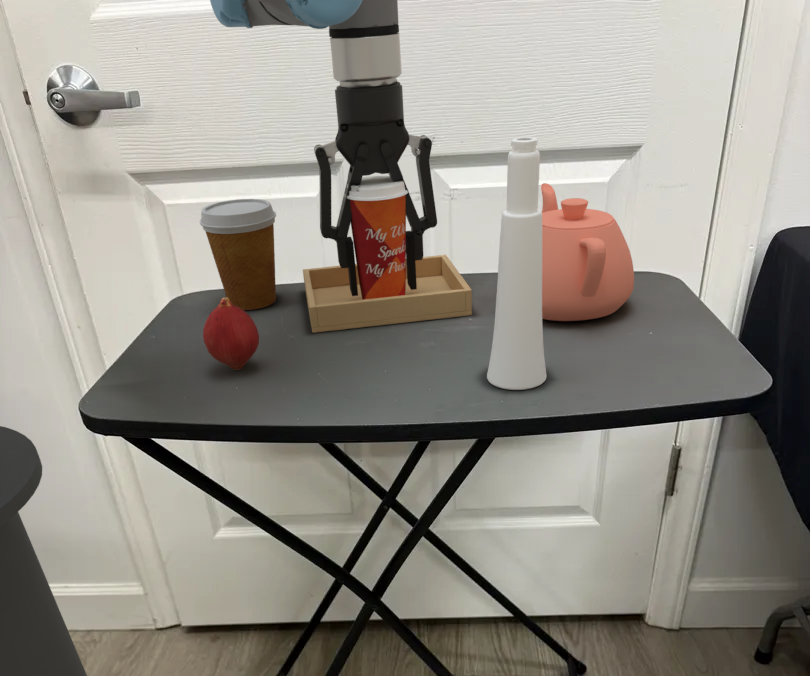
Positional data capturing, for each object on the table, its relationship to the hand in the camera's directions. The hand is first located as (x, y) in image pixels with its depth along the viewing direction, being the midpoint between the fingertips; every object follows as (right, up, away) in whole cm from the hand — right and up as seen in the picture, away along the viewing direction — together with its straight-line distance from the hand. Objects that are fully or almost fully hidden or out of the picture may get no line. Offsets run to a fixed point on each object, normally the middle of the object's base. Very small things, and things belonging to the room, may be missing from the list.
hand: (383, 289), depth 99 cm
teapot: (+23, -3, -3) cm, 23 cm away
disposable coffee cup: (-18, 0, +4) cm, 18 cm away
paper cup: (0, -1, +1) cm, 1 cm away
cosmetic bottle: (+14, -16, -20) cm, 29 cm away
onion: (-16, -13, -14) cm, 25 cm away
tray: (0, -1, +1) cm, 2 cm away
